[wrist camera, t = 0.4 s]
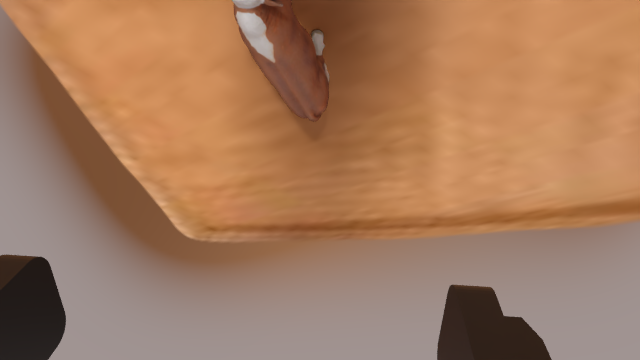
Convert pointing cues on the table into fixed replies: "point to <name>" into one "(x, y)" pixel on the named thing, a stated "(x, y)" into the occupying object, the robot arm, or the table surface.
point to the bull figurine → (286, 54)
